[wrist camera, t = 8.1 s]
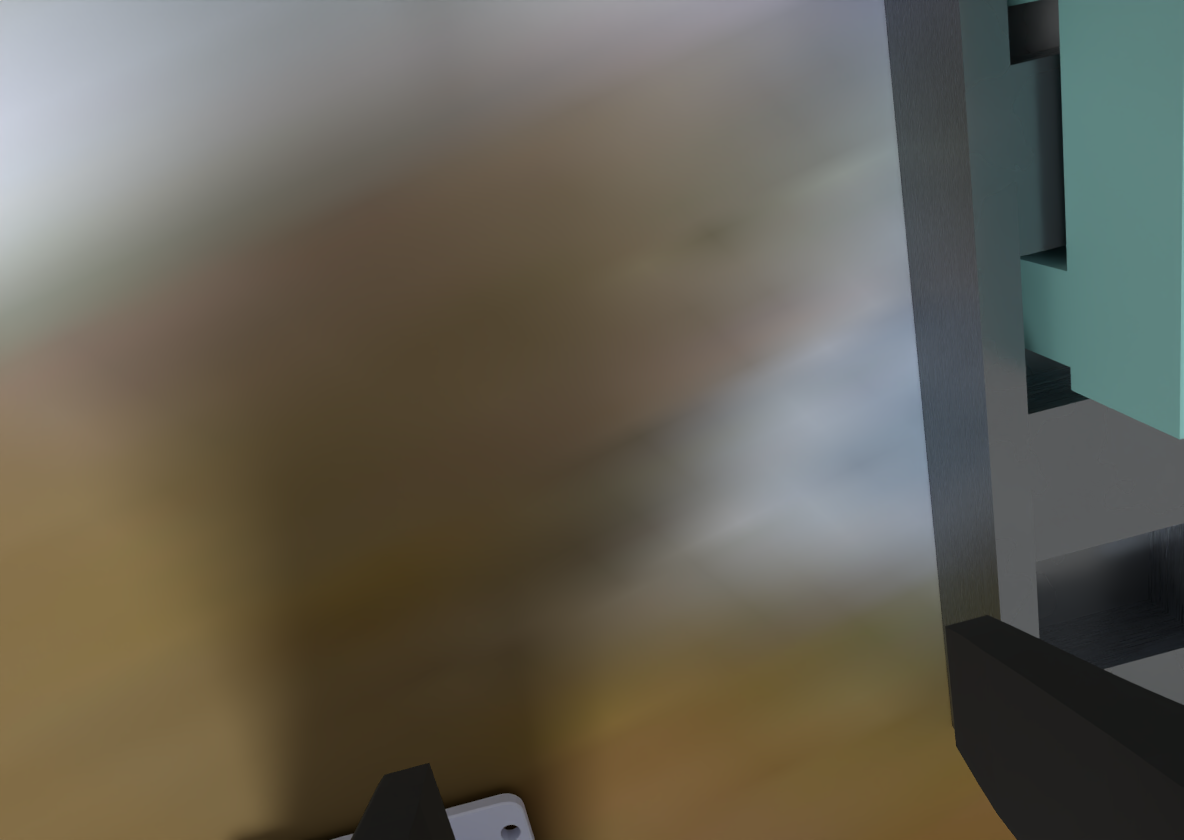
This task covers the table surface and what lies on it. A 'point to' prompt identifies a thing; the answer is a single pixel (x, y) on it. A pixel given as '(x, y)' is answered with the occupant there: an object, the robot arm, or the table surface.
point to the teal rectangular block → (1118, 212)
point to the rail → (1021, 361)
